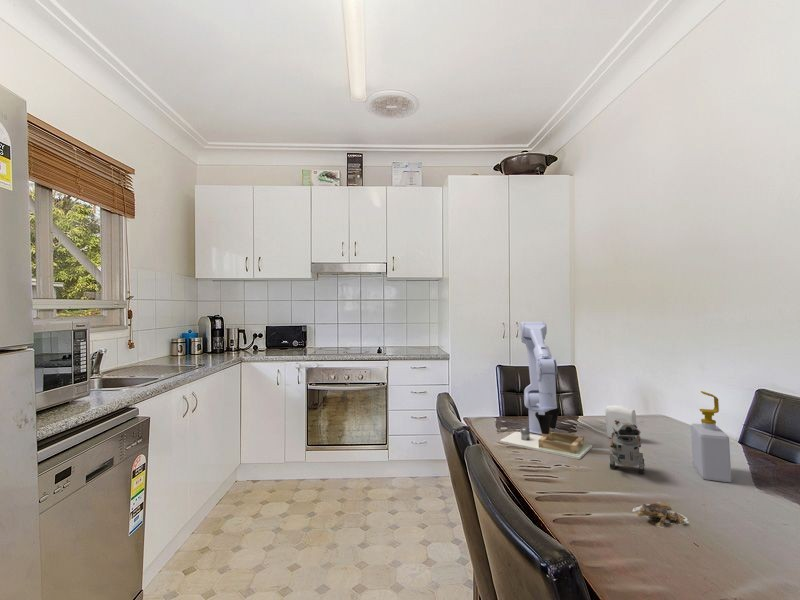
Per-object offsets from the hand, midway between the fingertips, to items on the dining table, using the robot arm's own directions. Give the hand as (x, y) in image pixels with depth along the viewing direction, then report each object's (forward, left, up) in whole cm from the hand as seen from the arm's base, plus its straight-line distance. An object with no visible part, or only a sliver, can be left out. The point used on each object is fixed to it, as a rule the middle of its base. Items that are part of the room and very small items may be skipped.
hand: (548, 431), depth 141 cm
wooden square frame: (0, +4, -4) cm, 6 cm away
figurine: (+9, +26, -6) cm, 28 cm away
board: (0, -2, -5) cm, 6 cm away
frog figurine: (+33, +38, -6) cm, 51 cm away
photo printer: (-23, +18, -6) cm, 30 cm away
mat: (0, +5, -4) cm, 7 cm away
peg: (0, -9, -4) cm, 10 cm away
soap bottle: (-4, +45, -6) cm, 46 cm away
